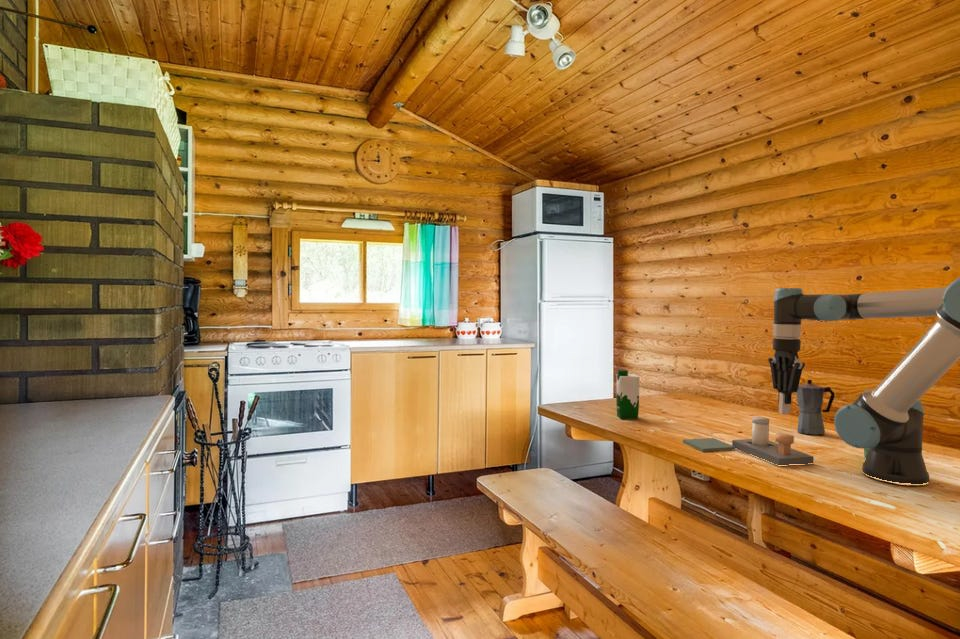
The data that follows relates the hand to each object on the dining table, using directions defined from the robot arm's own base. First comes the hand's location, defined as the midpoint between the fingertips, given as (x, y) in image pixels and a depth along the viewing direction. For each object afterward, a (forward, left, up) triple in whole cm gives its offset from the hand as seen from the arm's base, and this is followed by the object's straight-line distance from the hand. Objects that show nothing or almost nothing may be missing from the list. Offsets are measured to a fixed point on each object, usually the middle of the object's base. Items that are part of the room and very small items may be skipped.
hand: (784, 413), depth 172 cm
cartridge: (+11, 0, -15) cm, 18 cm away
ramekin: (-6, -29, -15) cm, 33 cm away
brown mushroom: (0, 0, -13) cm, 13 cm away
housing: (+6, 0, -15) cm, 16 cm away
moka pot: (+29, -36, -15) cm, 48 cm away
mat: (+20, +13, -15) cm, 28 cm away
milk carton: (+67, +20, -15) cm, 71 cm away
